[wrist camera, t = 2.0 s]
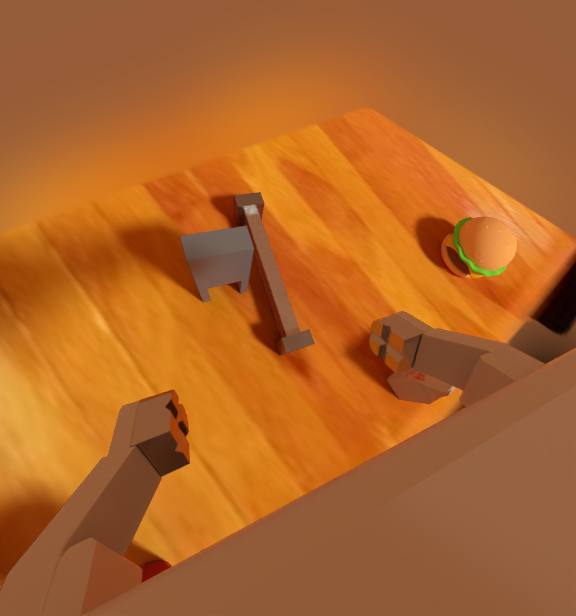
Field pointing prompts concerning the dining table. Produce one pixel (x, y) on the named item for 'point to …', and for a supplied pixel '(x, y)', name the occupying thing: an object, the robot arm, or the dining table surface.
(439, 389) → the printed food carton
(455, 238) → the hamburger
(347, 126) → the dining table surface
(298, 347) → the rail
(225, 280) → the clip
